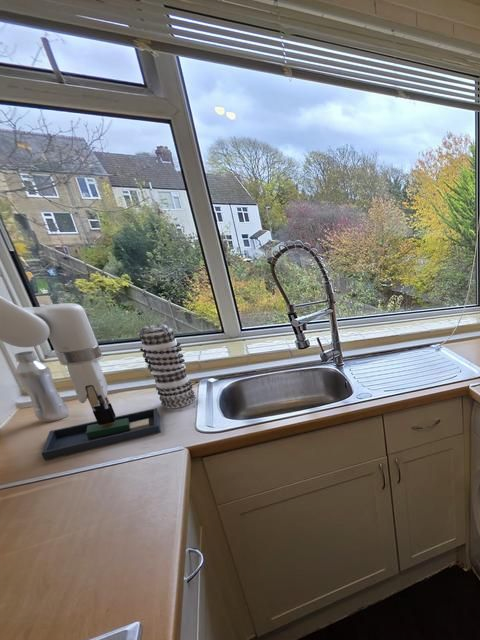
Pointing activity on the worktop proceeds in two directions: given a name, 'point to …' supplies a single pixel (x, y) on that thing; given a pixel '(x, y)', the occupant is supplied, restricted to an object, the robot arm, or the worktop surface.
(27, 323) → the robot arm
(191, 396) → the black white patterned cylinder
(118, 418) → the tray
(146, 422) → the cream square tile
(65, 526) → the worktop surface
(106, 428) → the brush
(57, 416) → the plastic bottle
